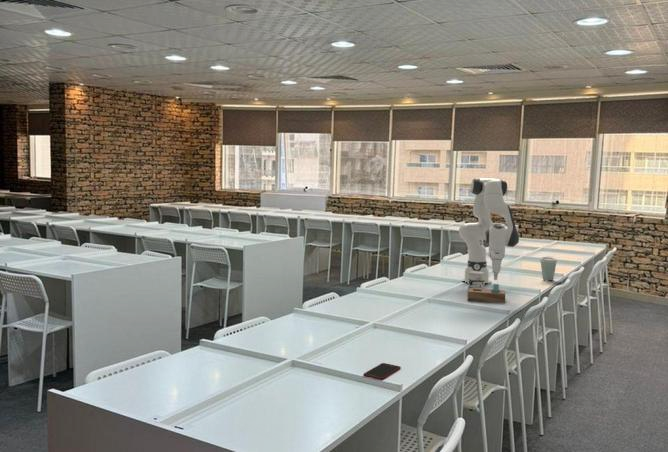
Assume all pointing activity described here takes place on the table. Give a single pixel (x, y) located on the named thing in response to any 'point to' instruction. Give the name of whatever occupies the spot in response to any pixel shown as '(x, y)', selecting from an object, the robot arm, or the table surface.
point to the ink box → (476, 279)
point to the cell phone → (382, 371)
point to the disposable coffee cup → (548, 267)
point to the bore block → (486, 295)
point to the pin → (495, 287)
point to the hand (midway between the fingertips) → (495, 278)
